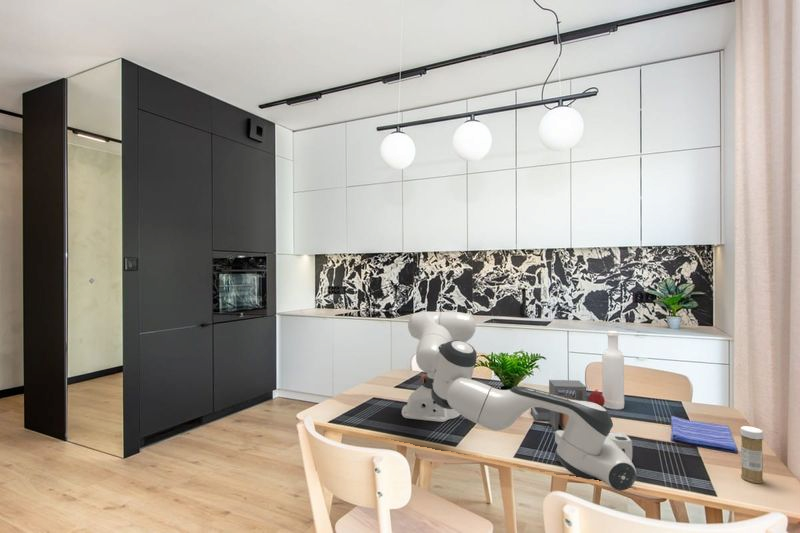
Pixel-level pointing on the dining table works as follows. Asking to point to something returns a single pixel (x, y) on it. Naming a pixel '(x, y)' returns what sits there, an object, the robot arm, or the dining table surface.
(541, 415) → the tray
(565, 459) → the robot arm
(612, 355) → the bottle
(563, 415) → the orange rectangular block
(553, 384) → the tunnel
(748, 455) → the sprinkles bottle
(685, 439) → the dish towel
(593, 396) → the onion
